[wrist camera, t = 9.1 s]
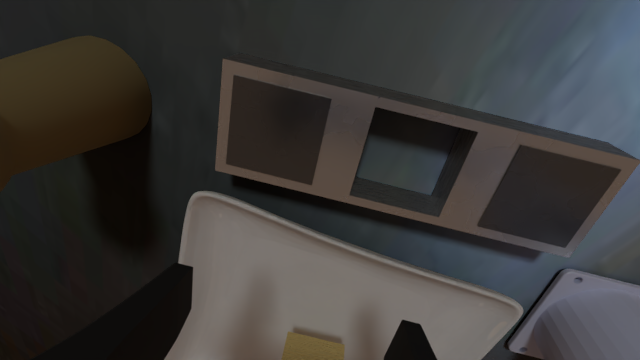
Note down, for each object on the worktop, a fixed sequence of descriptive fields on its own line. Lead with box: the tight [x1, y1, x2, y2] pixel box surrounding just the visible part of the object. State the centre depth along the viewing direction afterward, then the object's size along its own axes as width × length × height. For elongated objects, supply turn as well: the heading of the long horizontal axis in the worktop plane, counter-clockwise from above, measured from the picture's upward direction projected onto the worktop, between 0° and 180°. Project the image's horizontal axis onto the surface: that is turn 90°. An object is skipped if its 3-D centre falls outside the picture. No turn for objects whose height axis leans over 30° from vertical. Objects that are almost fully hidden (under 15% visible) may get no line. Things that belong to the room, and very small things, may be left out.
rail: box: [215, 53, 640, 258], centre depth 18 cm, size 20×6×2 cm, turn 78°
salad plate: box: [164, 191, 523, 360], centre depth 26 cm, size 21×21×3 cm
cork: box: [0, 35, 152, 192], centre depth 15 cm, size 6×6×11 cm
